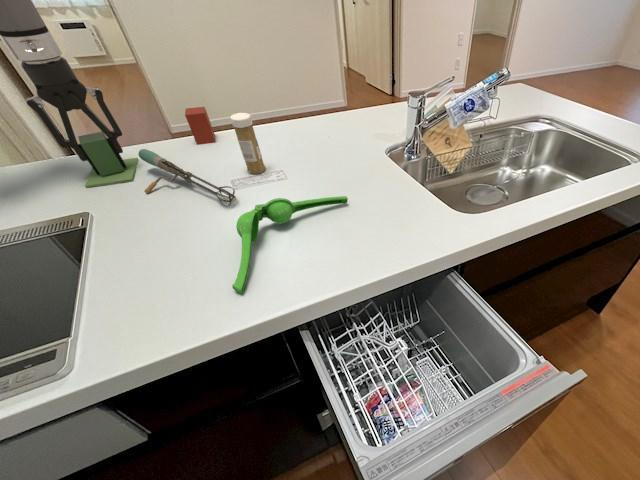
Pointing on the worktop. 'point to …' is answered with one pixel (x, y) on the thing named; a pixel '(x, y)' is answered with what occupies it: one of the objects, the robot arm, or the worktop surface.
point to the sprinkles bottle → (248, 142)
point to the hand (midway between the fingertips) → (111, 168)
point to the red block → (200, 125)
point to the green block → (100, 153)
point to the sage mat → (113, 175)
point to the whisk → (172, 168)
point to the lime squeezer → (278, 213)
